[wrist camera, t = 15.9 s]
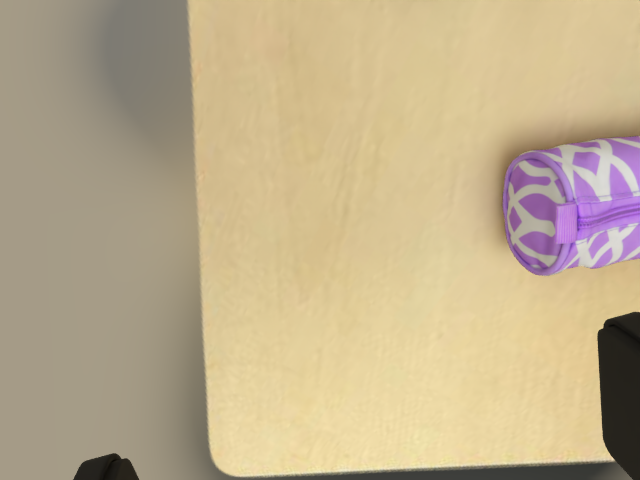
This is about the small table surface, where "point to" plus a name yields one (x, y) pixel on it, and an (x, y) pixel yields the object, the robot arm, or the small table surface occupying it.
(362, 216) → the small table surface
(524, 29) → the small table surface
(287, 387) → the small table surface
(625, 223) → the pencil case
